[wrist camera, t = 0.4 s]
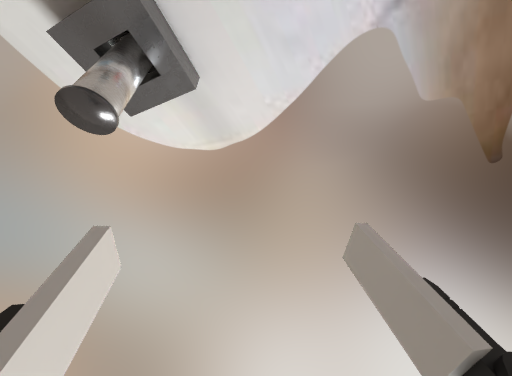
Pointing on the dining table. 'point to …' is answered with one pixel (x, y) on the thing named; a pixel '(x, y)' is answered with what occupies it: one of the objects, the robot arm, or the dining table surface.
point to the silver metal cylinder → (105, 88)
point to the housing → (146, 35)
